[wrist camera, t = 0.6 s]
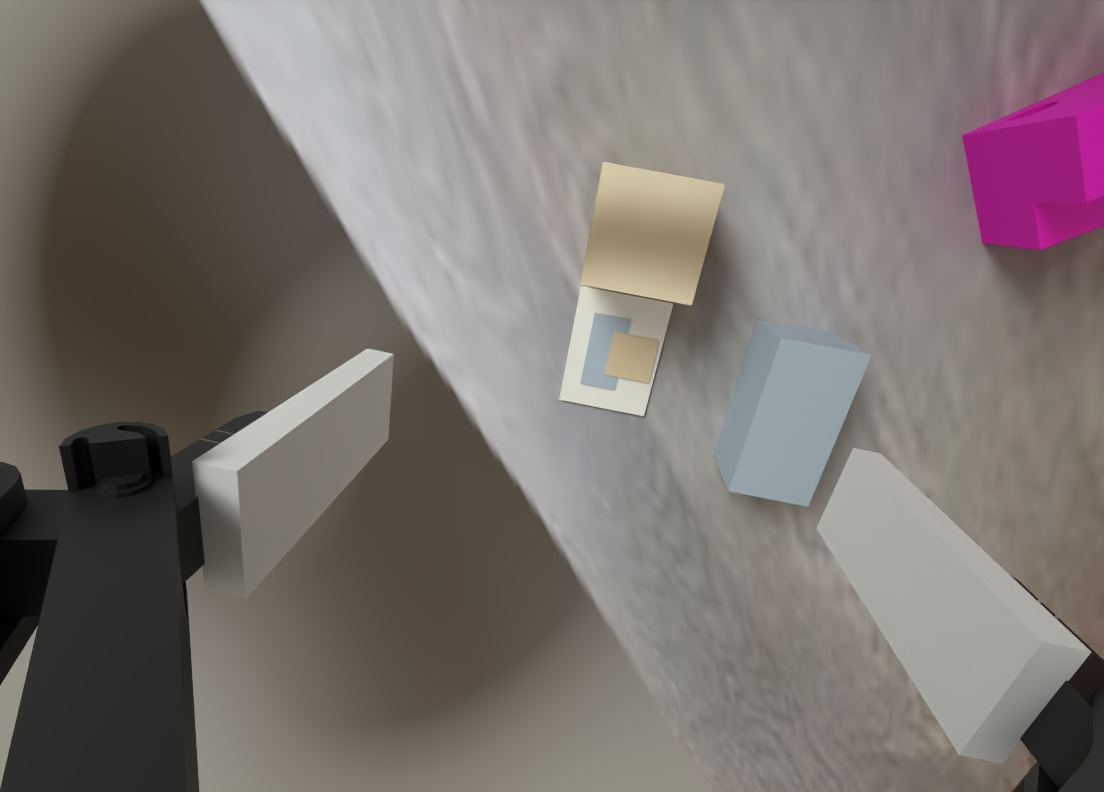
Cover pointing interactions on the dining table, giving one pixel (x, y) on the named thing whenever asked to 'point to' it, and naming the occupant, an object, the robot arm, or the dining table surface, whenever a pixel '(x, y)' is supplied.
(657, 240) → the maple cube
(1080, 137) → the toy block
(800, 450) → the blue brick
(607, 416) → the dining table surface
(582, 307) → the tile
